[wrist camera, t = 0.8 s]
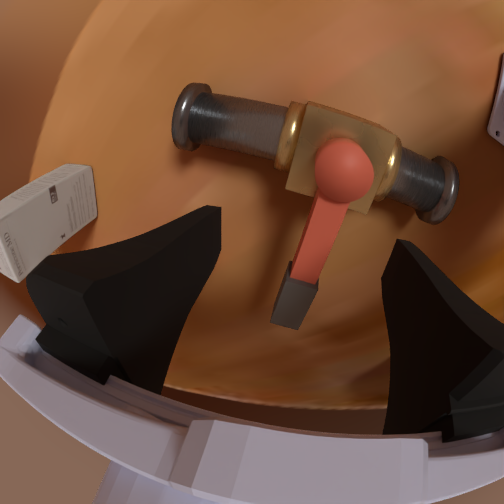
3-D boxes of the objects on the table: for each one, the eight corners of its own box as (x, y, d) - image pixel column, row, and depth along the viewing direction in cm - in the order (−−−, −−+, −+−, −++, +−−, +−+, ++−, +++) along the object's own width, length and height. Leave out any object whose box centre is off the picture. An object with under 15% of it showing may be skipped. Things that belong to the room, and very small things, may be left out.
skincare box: (99, 216, 26) (21, 288, 16) (73, 210, 26) (-1, 273, 16) (92, 162, 22) (-5, 224, 12) (64, 160, 22) (-24, 216, 13)
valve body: (389, 128, 16) (412, 143, 12) (368, 188, 19) (381, 220, 15) (295, 96, 16) (288, 99, 12) (279, 160, 19) (267, 184, 15)
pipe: (439, 153, 16) (467, 173, 12) (416, 206, 19) (437, 237, 15) (206, 82, 17) (176, 83, 13) (198, 141, 20) (168, 157, 16)
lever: (322, 130, 13) (324, 137, 11) (373, 148, 12) (382, 157, 11) (269, 300, 20) (264, 321, 18) (305, 310, 20) (303, 331, 18)
